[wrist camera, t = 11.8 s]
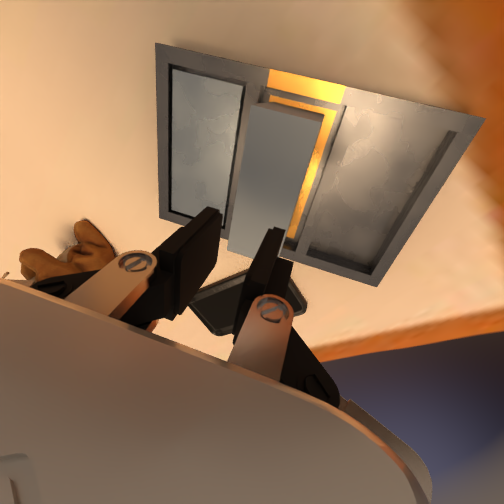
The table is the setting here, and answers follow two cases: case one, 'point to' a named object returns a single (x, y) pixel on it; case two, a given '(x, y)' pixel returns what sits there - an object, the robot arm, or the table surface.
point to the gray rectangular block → (271, 172)
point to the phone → (232, 303)
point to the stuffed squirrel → (68, 256)
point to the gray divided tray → (321, 164)
